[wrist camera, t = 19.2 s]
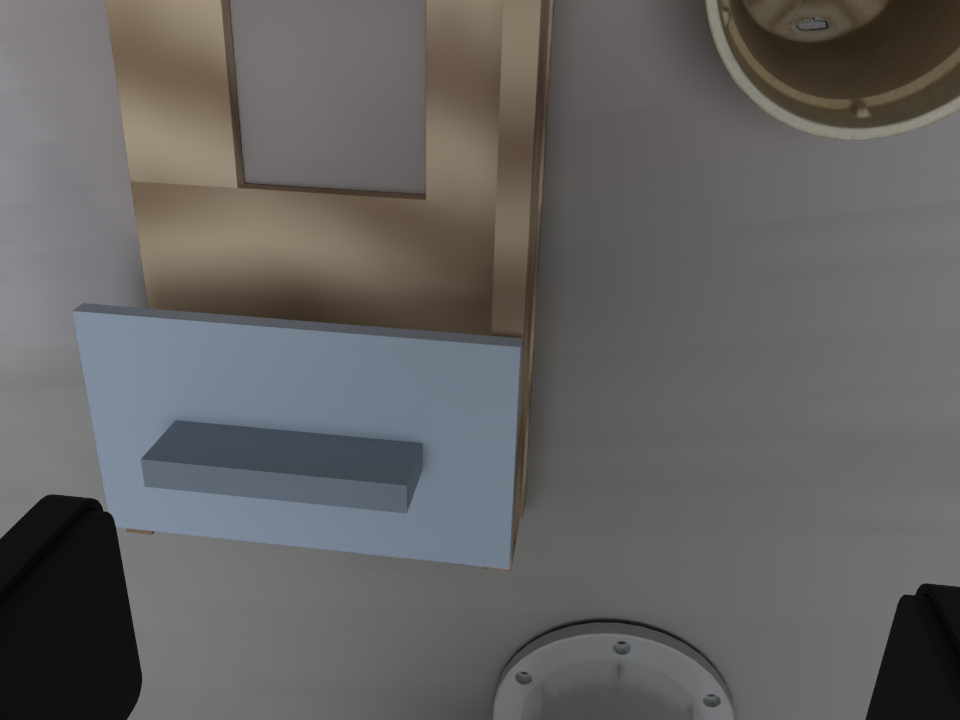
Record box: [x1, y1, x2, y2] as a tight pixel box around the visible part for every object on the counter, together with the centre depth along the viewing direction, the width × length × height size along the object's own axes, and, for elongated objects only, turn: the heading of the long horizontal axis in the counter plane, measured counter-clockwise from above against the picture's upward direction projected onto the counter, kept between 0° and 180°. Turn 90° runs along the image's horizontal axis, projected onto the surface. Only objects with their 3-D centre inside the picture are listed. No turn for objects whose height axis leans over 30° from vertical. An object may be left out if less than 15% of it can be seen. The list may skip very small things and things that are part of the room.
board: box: [105, 0, 554, 571], centre depth 37 cm, size 25×17×6 cm
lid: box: [72, 303, 523, 569], centre depth 35 cm, size 10×17×4 cm, turn 89°
